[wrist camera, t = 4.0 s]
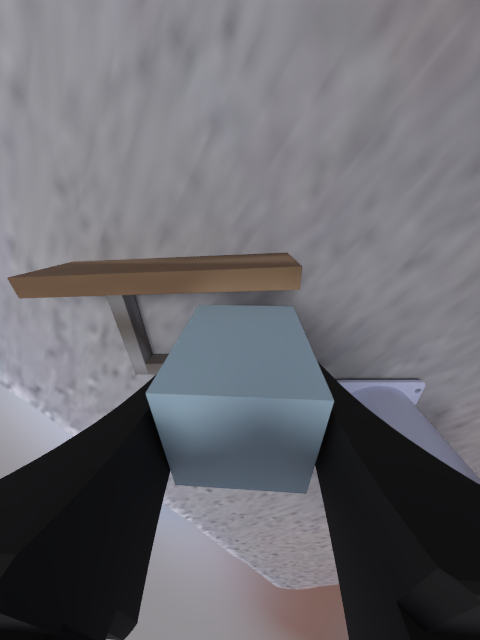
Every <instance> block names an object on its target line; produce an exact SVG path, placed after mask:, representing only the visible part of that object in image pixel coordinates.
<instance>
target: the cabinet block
mask: <svg viewBox="0 0 480 640" xmlns="http://www.w3.org/2000/svg"><path fill="white" fill-rule="evenodd" d="M146 396H147V399H148V402H149V406H150V409H151V412H152V415H153V418H154V421H155V424H156V427H157V430H158V433H159V436H160V439H161V442H162V445H163V449H164V452H165V455H166V458H167V461H168V464H169V467H170V470H171V473H172V476H173V479H174V482H175V485H185V486H200V487H215V488H230V489H245V490H260V491H275V492H290V493H305V494H306V492H307V489H308V486H309V482H310V479H311V476H312V473H313V469H314V466H315V463H316V459H317V456H318V453H319V450H320V446H321V443H322V440H323V436H324V433H325V430H326V427H327V423H328V420H329V417H330V413H331V410H332V407H333V403H334V399H333V397H332V394H331V392H330V390H329V387H328V385H327V383H326V381H325V378H324V376H323V374H322V371H321V369H320V367H319V365H318V362H317V360H316V358H315V355H314V353H313V351H312V348H311V346H310V344H309V342H308V339H307V337H306V335H305V332H304V330H303V328H302V326H301V323H300V321H299V319H298V316H297V314H296V312H295V309H294V307H293V306H243V305H198V307H197V309H196V310H195V312H194V314H193V315H192V317H191V319H190V320H189V322H188V324H187V325H186V327H185V329H184V330H183V332H182V334H181V335H180V337H179V339H178V340H177V342H176V343H175V345H174V347H173V348H172V350H171V352H170V353H169V355H168V357H167V358H166V360H165V362H164V363H163V365H162V367H161V368H160V370H159V372H158V373H157V375H156V377H155V378H154V380H153V382H152V383H151V385H150V387H149V388H148V390H147V391H146Z"/></svg>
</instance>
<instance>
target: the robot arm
mask: <svg viewBox="0 0 480 640" xmlns="http://www.w3.org/2000/svg"><path fill="white" fill-rule="evenodd" d="M317 362H318V361H317ZM318 365H319V367H320V369H321V371H322V374H323V376H324V378H325V381H326V383H327V385H328V387H329V390H330V392H331V394H332V397H333V399H334V403H333V407H332V410H331V413H330V417H329V420H328V423H327V427H326V430H325V433H324V436H323V440H322V443H321V446H320V450H319V453H318V456H317V459H316V463H315V466H316V470H317V474H318V479H319V484H320V488H321V493H322V498H323V502H324V507H325V512H326V517H327V522H328V527H329V532H330V537H331V542H332V547H333V553H334V558H335V563H336V568H337V574H338V579H339V585H340V591H341V596H342V602H343V607H344V613H345V619H346V624H347V630H348V636H349V640H480V479H479V478H478V476H477V475H476V474H475V473H474V472H473V471H472V470H471V468H470V467H469V466H468V465H467V464H466V463H465V462H464V460H463V459H462V458H461V457H460V456H459V455H458V454H457V452H456V451H455V450H454V449H453V448H452V447H451V446H450V444H449V443H448V442H447V441H446V440H445V439H444V438H443V437H442V435H441V434H440V433H439V432H438V431H437V430H436V429H435V427H434V426H433V425H432V424H431V423H430V422H429V421H428V419H427V418H426V417H425V416H424V415H423V414H422V413H421V411H420V410H419V409H418V408H417V407H416V404H417V402H418V400H419V398H420V396H421V394H422V392H423V390H424V388H425V383H424V382H423V381H422V380H337V381H336V380H335V379H334V378H333V377H332V376H331V375H330V374H329V373H328V372H327V371H326V370H325V369H324V368H323V367H322V366H321V365H320V363H319V362H318ZM156 375H157V374H156ZM156 375H155V376H154V377H153V378H152V379H151V380H150V381H149V382H147V383H146V384H145V385H144V386H143V387H142V388H140V389H139V390H138V391H137V392H135V393H134V394H133V395H132V396H131V397H129V398H128V399H127V400H126V401H124V402H123V403H122V404H121V405H119V406H118V407H117V408H115V409H114V410H113V411H111V412H110V413H108V414H107V415H106V416H104V417H103V418H101V419H100V420H98V421H97V422H96V423H94V424H93V425H91V426H90V427H88V428H87V429H85V430H83V431H82V432H80V433H79V434H77V435H76V436H74V437H72V438H71V439H69V440H68V441H66V442H65V443H63V444H61V445H60V446H58V447H57V448H55V449H53V450H51V451H50V452H48V453H46V454H44V455H43V456H41V457H40V458H38V459H36V460H34V461H33V462H31V463H29V464H27V465H25V466H23V467H22V468H20V469H18V470H16V471H14V472H13V473H11V474H9V475H7V476H5V477H3V478H1V479H0V640H106V639H113V640H124V639H125V638H126V637H127V636H128V635H129V634H130V632H131V631H132V630H133V628H134V627H135V626H136V624H137V622H138V616H139V611H140V606H141V601H142V595H143V590H144V585H145V580H146V575H147V570H148V565H149V560H150V556H151V551H152V546H153V542H154V537H155V532H156V528H157V523H158V519H159V515H160V510H161V506H162V502H163V498H164V494H165V490H166V486H167V482H168V478H169V474H170V467H169V464H168V461H167V458H166V455H165V452H164V449H163V445H162V442H161V439H160V436H159V433H158V430H157V427H156V424H155V421H154V418H153V415H152V412H151V409H150V406H149V402H148V399H147V396H146V391H147V390H148V388H149V387H150V385H151V383H152V382H153V380H154V378H155V377H156Z"/></svg>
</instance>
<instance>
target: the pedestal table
mask: <svg viewBox="0 0 480 640" xmlns="http://www.w3.org/2000/svg"><path fill="white" fill-rule="evenodd" d="M301 272H302V266H301V265H300V264H299V263H298V262H297V261H296V260H294V259H293V258H292V257H291V256H290V255H289V254H288V253H270V254H246V255H223V256H200V257H176V258H153V259H130V260H106V261H83V262H70V263H66V264H62V265H58V266H54V267H50V268H45V269H41V270H37V271H33V272H29V273H25V274H21V275H17V276H13V277H9V278H8V280H9V282H10V284H11V285H12V287H13V289H14V290H15V292H16V294H17V295H18V297H19V298H44V297H76V296H107V299H108V302H109V304H110V307H111V310H112V313H113V315H114V318H115V321H116V323H117V326H118V329H119V331H120V334H121V337H122V339H123V342H124V345H125V347H126V350H127V353H128V355H129V358H130V361H131V363H132V366H133V369H134V371H135V374H157V373H158V372H159V370H160V368H161V367H162V365H163V363H164V362H165V360H166V358H167V357H168V355H169V354H152V353H151V349H150V346H149V343H148V339H147V336H146V333H145V330H144V326H143V323H142V320H141V317H140V313H139V310H138V307H137V303H136V300H135V297H134V295H141V294H173V293H206V292H238V291H271V290H300V283H301Z"/></svg>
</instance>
